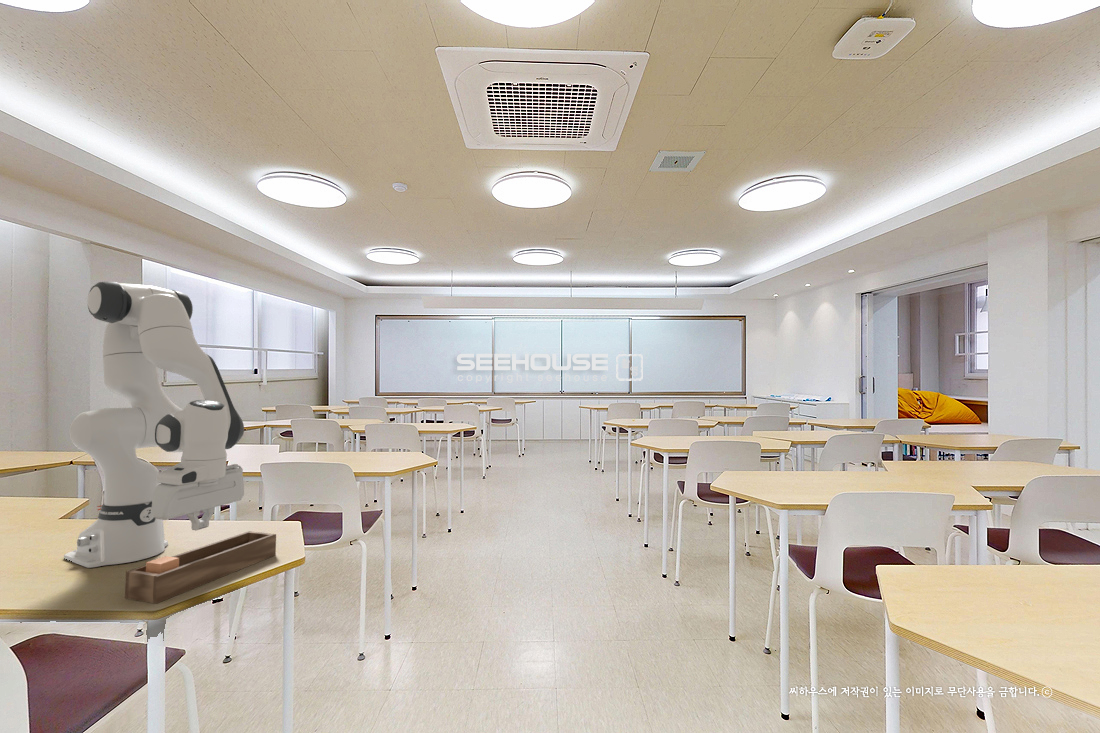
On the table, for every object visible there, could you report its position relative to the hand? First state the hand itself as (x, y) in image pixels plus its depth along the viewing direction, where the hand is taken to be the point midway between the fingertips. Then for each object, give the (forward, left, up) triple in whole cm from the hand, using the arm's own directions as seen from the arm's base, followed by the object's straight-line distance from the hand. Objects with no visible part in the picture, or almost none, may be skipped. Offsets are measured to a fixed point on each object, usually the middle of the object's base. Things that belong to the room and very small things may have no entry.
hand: (200, 528), depth 115 cm
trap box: (+1, +2, -11) cm, 11 cm away
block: (+1, -9, -8) cm, 12 cm away
